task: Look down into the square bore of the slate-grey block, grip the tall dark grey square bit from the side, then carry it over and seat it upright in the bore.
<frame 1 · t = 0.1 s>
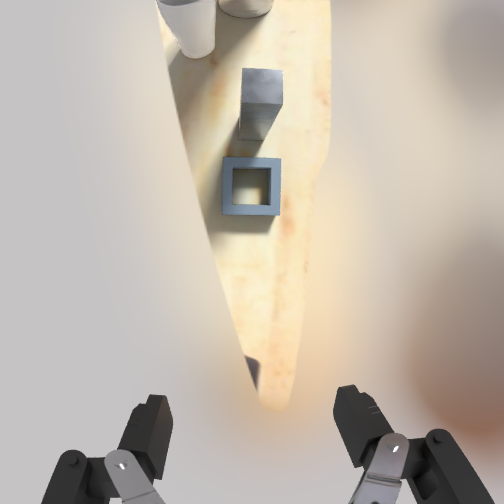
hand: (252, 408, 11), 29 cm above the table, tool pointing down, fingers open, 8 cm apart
drinking glass: (198, 47, 32), on the table
square bit: (251, 128, 36), on the table
socket block: (250, 186, 37), on the table
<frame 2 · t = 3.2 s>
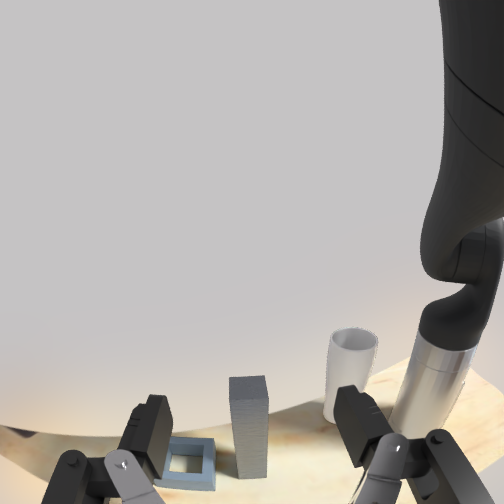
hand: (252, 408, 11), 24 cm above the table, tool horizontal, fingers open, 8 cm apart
drinking glass: (338, 415, 36), on the table
square bit: (251, 468, 27), on the table
socket block: (187, 468, 26), on the table
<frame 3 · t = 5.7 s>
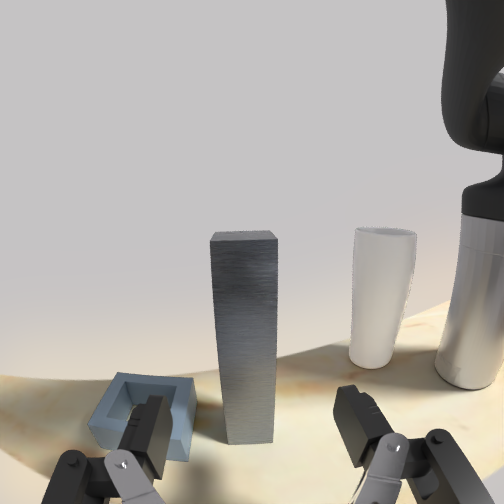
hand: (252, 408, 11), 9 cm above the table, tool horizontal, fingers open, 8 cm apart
drinking glass: (369, 359, 28), on the table
square bit: (249, 429, 19), on the table
socket block: (151, 425, 19), on the table
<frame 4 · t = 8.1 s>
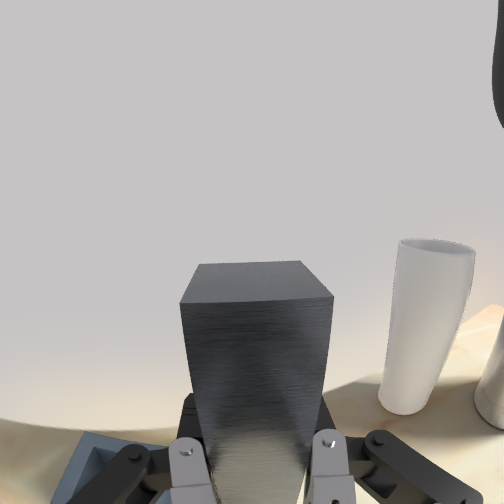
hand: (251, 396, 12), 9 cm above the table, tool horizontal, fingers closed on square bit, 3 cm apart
drinking glass: (401, 401, 20), on the table
socket block: (131, 499, 11), on the table
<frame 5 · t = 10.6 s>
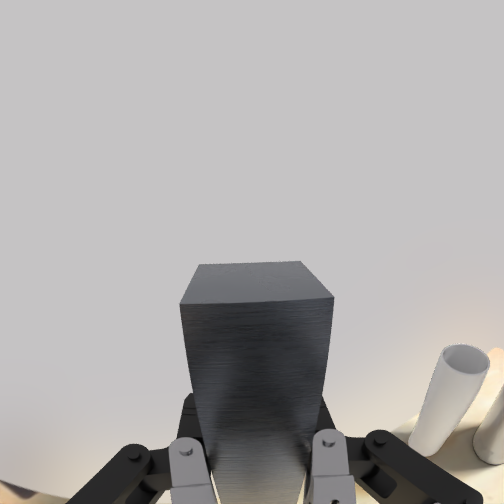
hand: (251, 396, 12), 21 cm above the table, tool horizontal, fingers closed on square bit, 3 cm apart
drinking glass: (423, 445, 23), on the table
when the fingers open (10 cm above the table, at t = 13.4 s): square bit stays where it is, resting in socket block.
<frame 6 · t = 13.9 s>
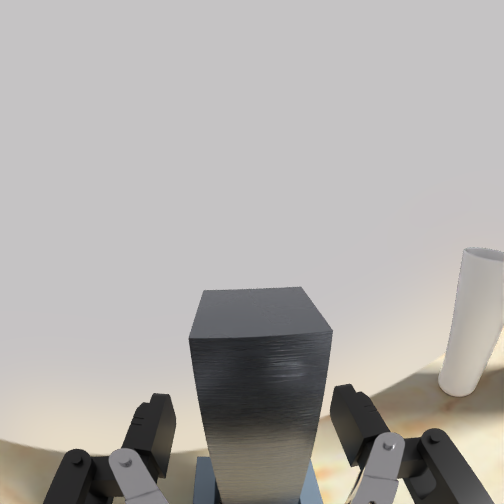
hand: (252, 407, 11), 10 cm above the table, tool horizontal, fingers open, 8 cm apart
drinking glass: (455, 386, 21), on the table
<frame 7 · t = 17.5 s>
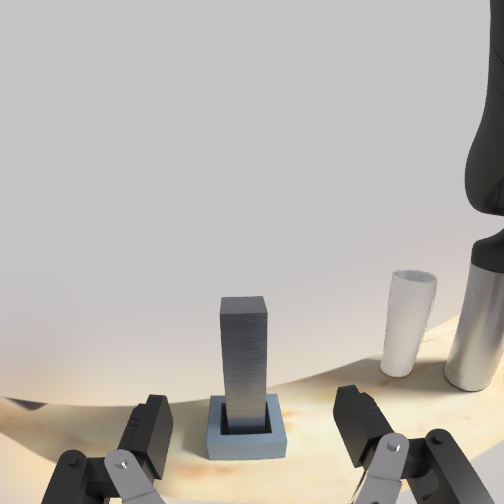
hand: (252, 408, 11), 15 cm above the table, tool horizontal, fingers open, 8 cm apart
drinking glass: (395, 370, 34), on the table
square bit: (246, 435, 24), resting in socket block
socket block: (245, 434, 24), on the table
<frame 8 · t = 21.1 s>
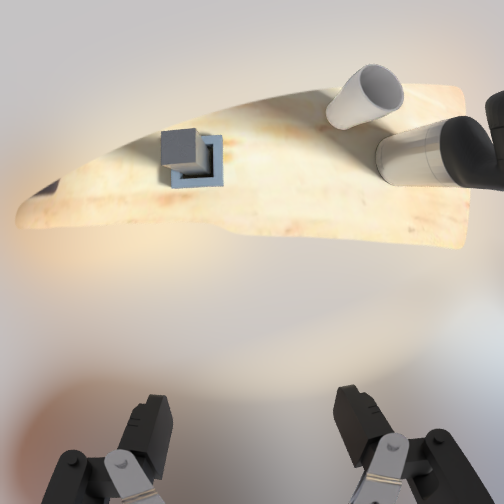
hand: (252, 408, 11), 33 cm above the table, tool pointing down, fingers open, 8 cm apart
drinking glass: (339, 116, 40), on the table
square bit: (199, 164, 40), resting in socket block
socket block: (198, 163, 40), on the table
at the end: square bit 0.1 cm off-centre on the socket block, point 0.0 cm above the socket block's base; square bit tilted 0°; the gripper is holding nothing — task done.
